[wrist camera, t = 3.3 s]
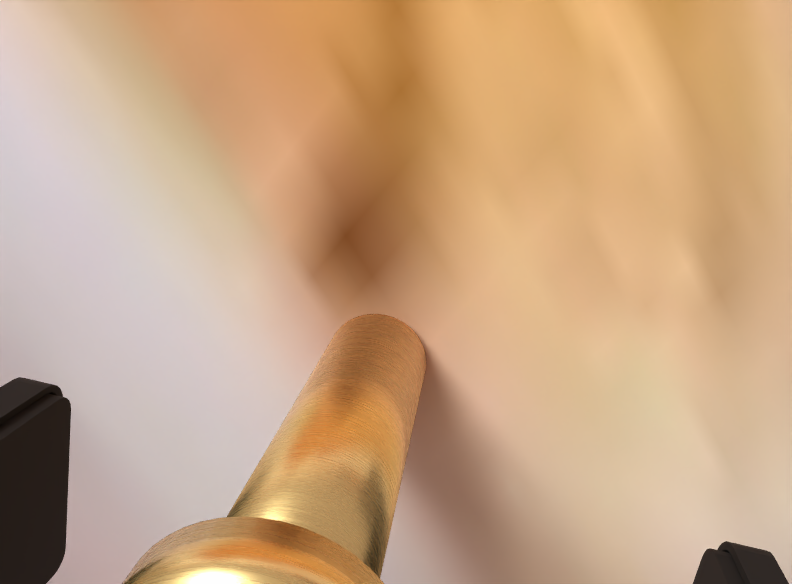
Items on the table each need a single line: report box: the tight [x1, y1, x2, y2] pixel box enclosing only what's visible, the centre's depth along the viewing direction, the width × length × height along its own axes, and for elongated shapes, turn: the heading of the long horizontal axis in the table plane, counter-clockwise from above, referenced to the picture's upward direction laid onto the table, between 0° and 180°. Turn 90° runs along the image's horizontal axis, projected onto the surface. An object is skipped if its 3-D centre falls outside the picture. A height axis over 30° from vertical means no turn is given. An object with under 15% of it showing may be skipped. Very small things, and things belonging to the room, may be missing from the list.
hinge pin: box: [122, 314, 426, 584], centre depth 12 cm, size 3×3×10 cm
